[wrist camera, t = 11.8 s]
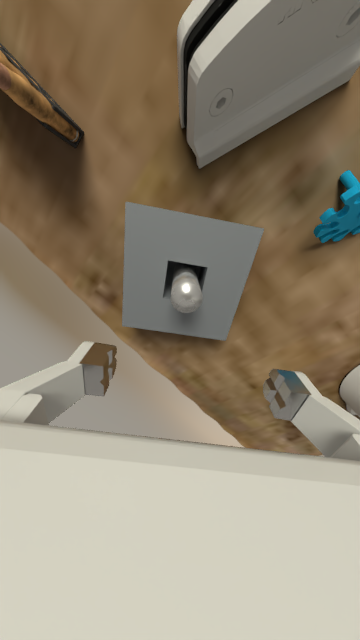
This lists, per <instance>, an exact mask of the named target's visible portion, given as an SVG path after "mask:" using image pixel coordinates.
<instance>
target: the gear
mask: <svg viewBox="0 0 360 640" xmlns="http://www.w3.org/2000/svg"><path fill="white" fill-rule="evenodd" d="M339 179H340V180H341V182H342V183H343V185H344V186H345V187H346V189H347V191H346V192H344V193H343V194H342V195H341V196H340V199H341V200H342V201H343V203H344V204H345V206H344V207H343V208H342V209H341V210H340V211H338V212H335V210H334V209H333V208H330V209H328V210H327V211H326V212H324V213H323V214H322V215H321V217H320V219H321V221H322V223H323V224H320V225H318V226H317V227H316V228H315V229H314V232H313V233H314V234H315V236H316V238H317V237H319V239H320V241H321V242H322V243H324V242H326V241H328V240H329V239H331V238H332V240H333V241H340V240H341V239H343V238H344V237H345V235H347V234H348V233H349V232H351V233H352V235H354V234H357V233H360V183H359V182H358V180H357V179H356V178H355V176H354V175H353V174H352V173H351V171H350V170H348V171H346V172H344V173H343V174H342V175H341V176H340V178H339ZM330 222H331V223H330ZM327 223H329V224H327Z"/></svg>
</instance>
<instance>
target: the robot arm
mask: <svg viewBox="0 0 360 640" xmlns="http://www.w3.org/2000/svg"><path fill="white" fill-rule="evenodd" d="M116 350H117V348H116V346H114V345H108V344H101V343H95V342H89V341H84V342H83V343H82V344H81V345H80V346H79V347H78V348H77V350H76V351H75V352H74V353H73V354H72V356H71V357H70V358H69V359H68V360H67V361H66V362H60V363H58V364H56V365H54V366H51V367H49V368H47V369H44V370H42V371H40V372H37V373H35V374H33V375H30V376H28V377H26V378H23V379H21V380H19V381H17V382H14V383H12V384H10V385H7V386H5V387H3V388H0V640H360V420H359V419H358V418H356V417H355V416H353V415H358V416H359V417H360V365H359V366H357V367H356V368H355V369H353V370H352V371H351V372H350V373H349V374H348V375H347V376H346V377H345V379H344V380H343V382H342V384H341V386H340V396H341V398H342V399H343V400H344V401H345V402H346V407H347V411H348V412H347V411H346V410H344V409H343V408H341V407H340V406H338V405H337V404H335V403H334V402H332V401H331V400H329V399H328V398H326V397H323V396H322V395H321V394H320V393H319V391H318V390H317V389H316V388H315V387H314V385H313V384H312V383H311V382H310V380H309V379H308V378H307V377H306V375H305V374H304V373H302V372H297V371H286V370H279V369H272V370H271V371H270V373H269V376H270V378H269V379H267V380H266V381H265V383H264V385H263V393H264V396H265V398H266V399H267V400H268V401H269V402H270V406H269V407H270V409H271V411H272V413H273V415H274V417H275V418H278V419H284V420H291V422H292V423H293V424H294V425H295V426H296V427H297V428H298V429H299V430H300V431H301V432H302V433H303V434H304V435H305V436H306V437H307V438H308V439H309V440H310V441H311V442H312V443H313V444H314V445H315V446H316V447H317V448H318V450H319V451H320V452H321V453H322V454H323V455H324V456H325V457H321V456H312V455H303V454H294V453H286V452H277V451H268V450H259V449H251V448H241V447H233V446H224V445H215V444H207V443H198V442H188V441H180V440H171V439H163V438H154V437H146V436H137V435H128V434H119V433H110V432H102V431H93V430H84V429H75V428H66V427H58V426H49V424H48V423H50V422H51V421H52V420H54V419H55V418H56V417H58V416H59V415H60V414H61V413H63V412H64V411H65V410H67V409H68V408H69V407H71V406H72V405H73V404H75V403H76V402H77V401H78V400H80V399H81V398H82V397H84V396H85V395H95V396H104V395H105V393H106V391H107V388H108V386H109V380H110V379H112V378H113V375H114V372H115V369H116V358H115V355H116V353H117V351H116ZM349 412H350V413H351V414H350V413H349Z"/></svg>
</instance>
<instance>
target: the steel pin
mask: <svg viewBox="0 0 360 640" xmlns="http://www.w3.org/2000/svg"><path fill="white" fill-rule="evenodd" d="M202 299H203V296H202V292H201V289H200V285H199V282H198V279H197V275H196V272H195V268H194V266H193V265H191V264H186V263H180V262H179V263H178V264H176V266H175V268H174V272H173V281H172V290H171V303H172V305H173V307H174V308H175V309H176V310H178V311H179V312H182V313H190V312H193V311H195V310H197V309H198V308H199V307H200V305H201V303H202Z"/></svg>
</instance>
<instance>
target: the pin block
mask: <svg viewBox="0 0 360 640" xmlns="http://www.w3.org/2000/svg"><path fill="white" fill-rule="evenodd" d="M263 231H264V229H263V228H258V227H253V226H248V225H243V224H237V223H232V222H227V221H222V220H217V219H212V218H207V217H202V216H197V215H191V214H186V213H181V212H176V211H171V210H166V209H161V208H156V207H151V206H146V205H140V204H135V203H130V202H126V208H125V244H124V280H123V316H122V326H126V327H133V328H140V329H147V330H154V331H161V332H168V333H175V334H182V335H189V336H196V337H203V338H210V339H217V340H224V341H226V338H227V335H228V332H229V329H230V327H231V324H232V321H233V318H234V315H235V312H236V309H237V306H238V303H239V300H240V298H241V295H242V292H243V289H244V286H245V283H246V280H247V277H248V274H249V271H250V269H251V266H252V263H253V260H254V257H255V254H256V251H257V248H258V245H259V242H260V240H261V237H262V234H263ZM179 262H180V263H186V264H191V265H193V266H194V268H195V272H196V275H197V279H198V282H199V285H200V289H201V292H202V296H203V299H202V303H201V305H200V307H199V308H198V309H197V310H195V311H193V312H190V313H182V312H179V311H178V310H176V309H175V308H174V307H173V305H172V303H171V290H172V281H173V272H174V268H175V266H176V264H178V263H179Z"/></svg>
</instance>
